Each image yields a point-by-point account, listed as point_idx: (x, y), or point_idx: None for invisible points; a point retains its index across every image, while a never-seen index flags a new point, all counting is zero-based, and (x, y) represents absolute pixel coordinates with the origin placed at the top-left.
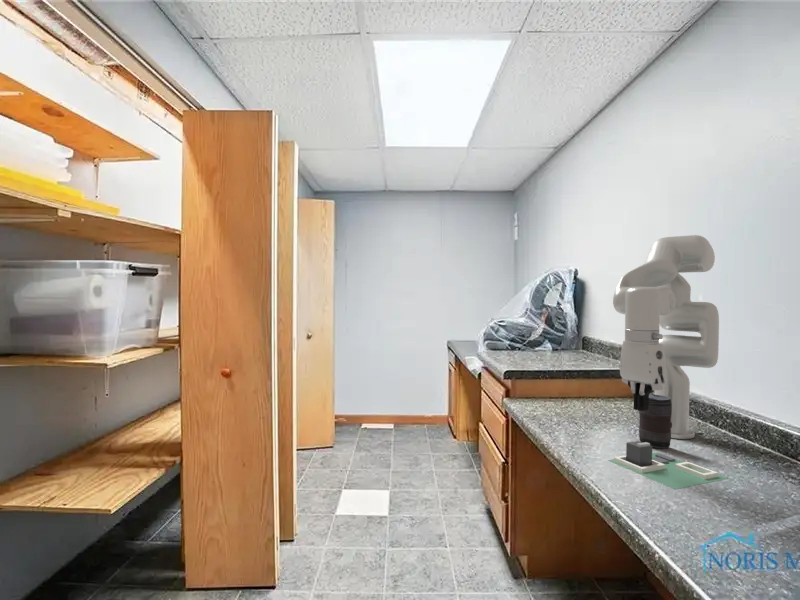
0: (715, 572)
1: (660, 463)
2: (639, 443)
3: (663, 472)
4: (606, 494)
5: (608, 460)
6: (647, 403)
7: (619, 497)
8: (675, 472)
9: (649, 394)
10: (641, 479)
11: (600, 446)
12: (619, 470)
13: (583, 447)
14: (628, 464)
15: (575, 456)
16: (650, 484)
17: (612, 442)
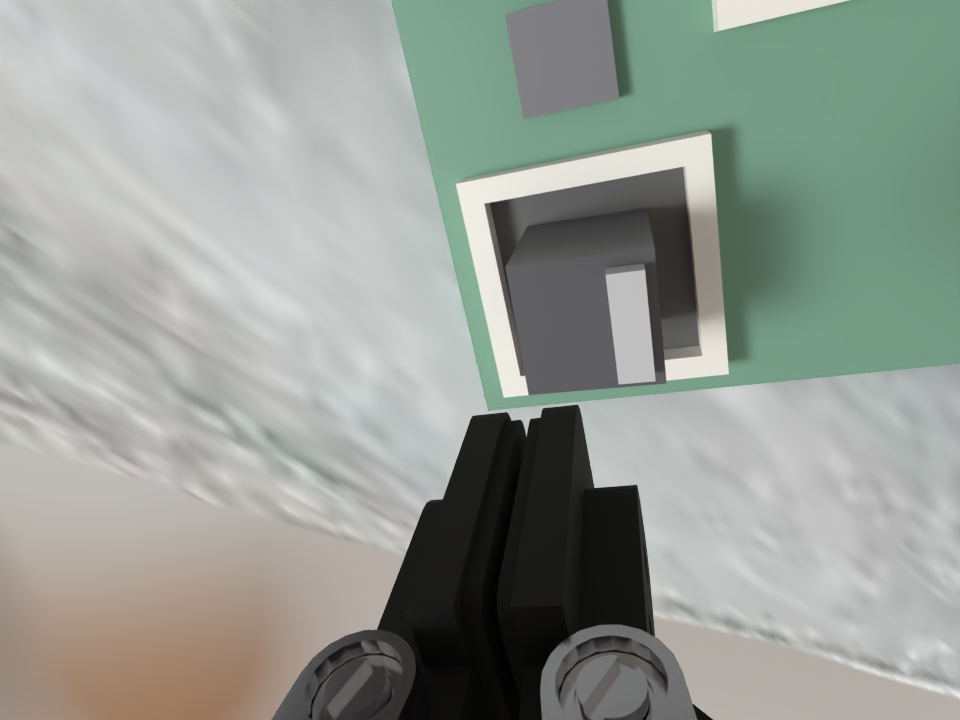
0: None
1: (678, 156)
2: (624, 364)
3: (762, 206)
4: (835, 646)
5: (492, 409)
6: (642, 545)
7: (886, 620)
8: (793, 109)
9: (654, 663)
10: None
11: (169, 214)
12: None
13: (200, 339)
14: None
15: (352, 476)
16: None
17: (66, 53)
